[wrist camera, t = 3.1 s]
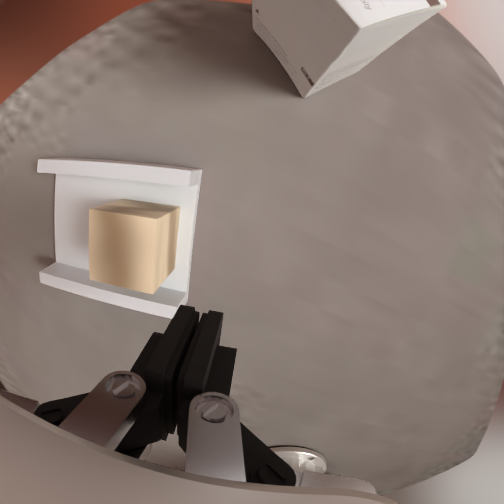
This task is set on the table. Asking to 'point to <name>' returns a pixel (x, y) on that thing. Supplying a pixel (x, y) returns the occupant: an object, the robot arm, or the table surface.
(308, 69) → the skincare box
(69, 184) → the u-shaped channel
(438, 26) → the table surface
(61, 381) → the table surface
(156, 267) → the birch block
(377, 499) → the robot arm
